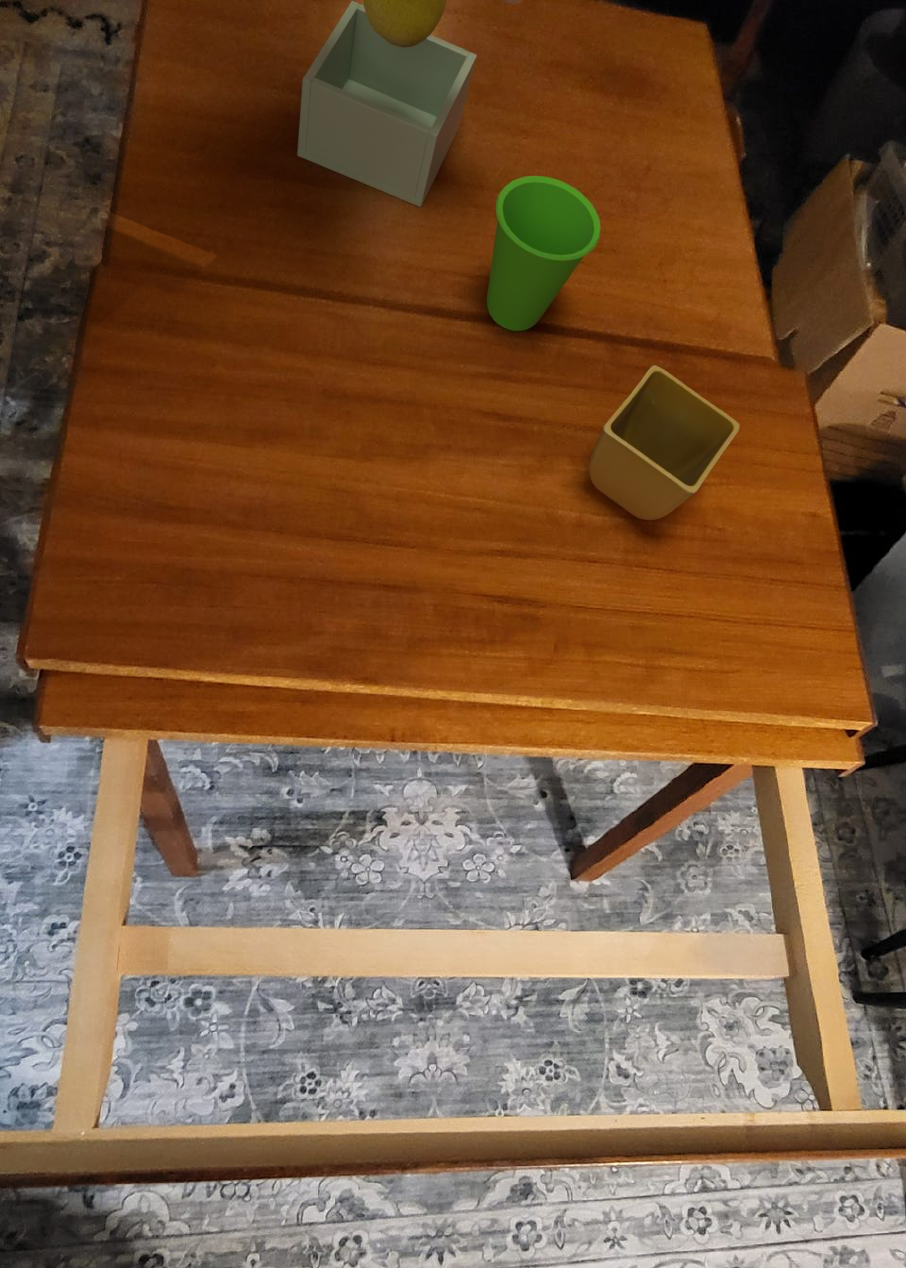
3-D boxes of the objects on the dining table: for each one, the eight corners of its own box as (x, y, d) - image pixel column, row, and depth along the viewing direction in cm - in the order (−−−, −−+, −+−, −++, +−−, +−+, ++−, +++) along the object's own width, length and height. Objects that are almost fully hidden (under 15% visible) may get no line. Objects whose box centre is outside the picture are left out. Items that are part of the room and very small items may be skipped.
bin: (297, 155, 85) (302, 78, 78) (342, 78, 91) (351, -1, 84) (420, 207, 86) (437, 136, 79) (458, 128, 91) (477, 54, 84)
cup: (480, 352, 81) (515, 260, 71) (454, 274, 84) (483, 174, 74) (570, 345, 83) (615, 255, 73) (542, 270, 86) (581, 173, 76)
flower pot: (646, 549, 76) (694, 494, 68) (563, 489, 77) (602, 427, 69) (691, 484, 80) (743, 424, 72) (612, 427, 81) (654, 361, 73)
